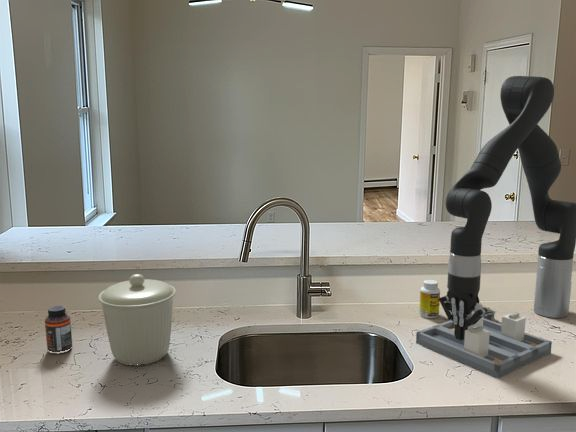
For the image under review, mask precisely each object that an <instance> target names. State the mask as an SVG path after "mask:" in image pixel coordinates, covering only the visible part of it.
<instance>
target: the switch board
mask: <svg viewBox="0 0 576 432" xmlns="http://www.w3.org/2000/svg"><path fill="white" fill-rule="evenodd" d="M501 328H502V323H499V322H496V321H494V322H493V321H490V320H487V319H484V318H483V330H486V331H489V332H490V334H489V349H488V356H486V357H481V356H478V355H476V354H473V353H471V352H469V351H466V350H464V340H462V341H460V340H458V339H456V338H455V335H454V332H455V331H454V330H455V324H454V322H453V321H452V320H447V321H444V322H442V323H438V324H436V325H433V326H431V327H428V328H424V329H422V330H419V331H417V332H415V334H416V335H415V336H416V338H415V343H416V344H417V345H419V346H421V347H424V348H427V349H429V350H431V351H433V352H435V353H438V354H440V355H442V356H445V357H447V358H450V359H452V360H454V361H457V362H459V363H462V364H463V365H466V366H468V367H471V368H472V369H475V370H478V371H480V372H482V373H484V374H487V375H489V376H491V377H493V378H496V379H499V378H501V377H503V376H505V375H508V374H510V373H512V372H514V371H517V370H518V369H521V368H522V367H524V366H527V365H529V364H531V363H533V362H535V361H538V360H539V359H542V358H543V357H546V356H548V355H550V354H551V353H552V344H553V342H552V341H551V340H548V339H544V338H542V337H539V336H537V335H534V334H530V333H528V332H525V333H524V340H523V341H521V342H520V341H518V340H515V339H512V338H509V337H507V336H504V335H501Z"/></svg>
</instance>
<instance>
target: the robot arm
mask: <svg viewBox="0 0 576 432" xmlns="http://www.w3.org/2000/svg"><path fill="white" fill-rule="evenodd" d="M554 95H555V88H554V83H553V82H552V80H550V78H547V77H543V76H527V75H514V76H513V75H512V76H509V77H507V78H505V79H504V80H503V83H502V84H501V87H500V95H499V96H500V104H501V108H502V110H503V113H504V115H505V118H506V120H507V121H508V124H509V125H508V126H506V128H504V129H502V131H500V132H499V133H497V134H496V135H495V136H493V137H492V138H491V139H490V140H488V141H487V142H486V143H485V144H484V145H483V147H481V149H480V151H479V153H478V154H477V156H476V158H475V159H474V161H473V163H472V166H471V167H470V168H469V170H468V171H467V172H465V173H464V174H463V175H462V176H461V178H459V180H457V181H456V183H455V184H454V185H452V187H451V188H450V189H449V191H448V193H447V195H446V198H445V209H446V211H447V212H448V214H449V215H452V216H453V217H458V218H463V219H466V223H465V226H458V227H455V228H453V230H452V231H451V233H450V234H451V235H450V244H449V245H450V247H449V248H450V250H449V256H448V257H449V258H448V262H447V263H448V266H447V285H446V288H447V291H446V295H443V296H440V298H439V301H440V303H439V304H440V305H441V307H442V309H443V311H444V313H445V316H446V317H447V319H448V321H450V320H452V321H453V322H454V324H455V330H454V331H455V332H454V335H455V338H456V339H458V340H460V341H462V340H464V338H465V330H468V327H469V326H471V325H474V324H476V323H477V322H478V321H479V320H480V319H481V318H482V317H483V316H484V315H485V314H486V313H487V309H486V308H482V307H481V305H480V304H479V303H480V298H479V292H480V289H481V278H482V275H481V274H482V273H481V272H482V245H483V243H482V239H483V235H484V232H485V229H486V228H487V227H486V226H487V224H488V221H489V219H490V216H491V212H492V200H491V197H490V195H489V194H488V193H487V192H486V191H485V190H484V189H489V188H493V187H495V186H496V185H497V184H498V182H499V180H500V179H501V178H502V176H503V173H504V172H505V170H506V168H507V167H508V165H509V163H510V161H511V160H512V158H513V156H514V155H515V153H516V152H517V151H518V153H519V157H520V162H521V165H522V170H523V172H524V175H525V178H526V181H527V185H528V189H529V193H530V197H531V205H532V211H533V216H534V221H535V224H536V227H537V228H538V229H539V230H541V231H543V232H547V233H554V234H559V238H558V240H555V241H549V242H543V243H541V244H539V245H538V246H539V247H538V252H537V253H538V254H537V266H536V276H535V277H536V280H535V292H534V300H533V301H534V302H533V312H534V313H535V314H537V315H539V316H541V317H545V318H553V319H563V318H566V317H568V316H569V312H570V303H571V302H570V301H571V295H572V294H571V293H572V277H573V265H574V253H575V249H576V202H573V201H564V200H558V199H557V200H556V199H552V198H550V196H549V195H550V194H549V191H550V189H551V188H552V186H553V185H554V183H555V182H556V180H557V179H558V177H559V175H560V173H561V170H562V163H561V159H560V155H559V153H560V152H559V149H558V146H557V144H556V143H555V142H554V140H553V139H552V138H551V137H550V135H548V133H547V132H545V131H544V129H543V128H542V127H540V125H538V124H539V123H540V122H541V120H542V119H543V118H544V116H545V115H546V113H547V112H548V110H549V109H550V107H551V105H552V103H553V100H554V97H555V96H554ZM474 309H475V310H474ZM473 310H474V312H473V313H474V314H473V315H472V311H473ZM471 315H472V316H471Z"/></svg>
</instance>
